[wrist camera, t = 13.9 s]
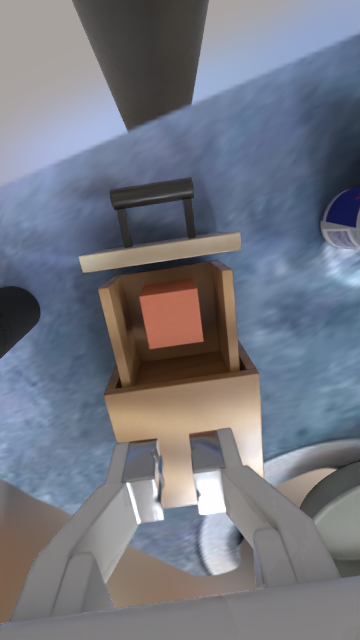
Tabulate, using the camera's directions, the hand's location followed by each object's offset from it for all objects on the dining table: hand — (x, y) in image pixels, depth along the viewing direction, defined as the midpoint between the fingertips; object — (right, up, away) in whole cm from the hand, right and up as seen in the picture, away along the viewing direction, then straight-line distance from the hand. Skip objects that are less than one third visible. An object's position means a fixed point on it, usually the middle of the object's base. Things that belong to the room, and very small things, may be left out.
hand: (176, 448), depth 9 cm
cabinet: (+1, -4, +22) cm, 22 cm away
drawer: (-1, +8, +16) cm, 18 cm away
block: (-1, +6, +16) cm, 17 cm away
